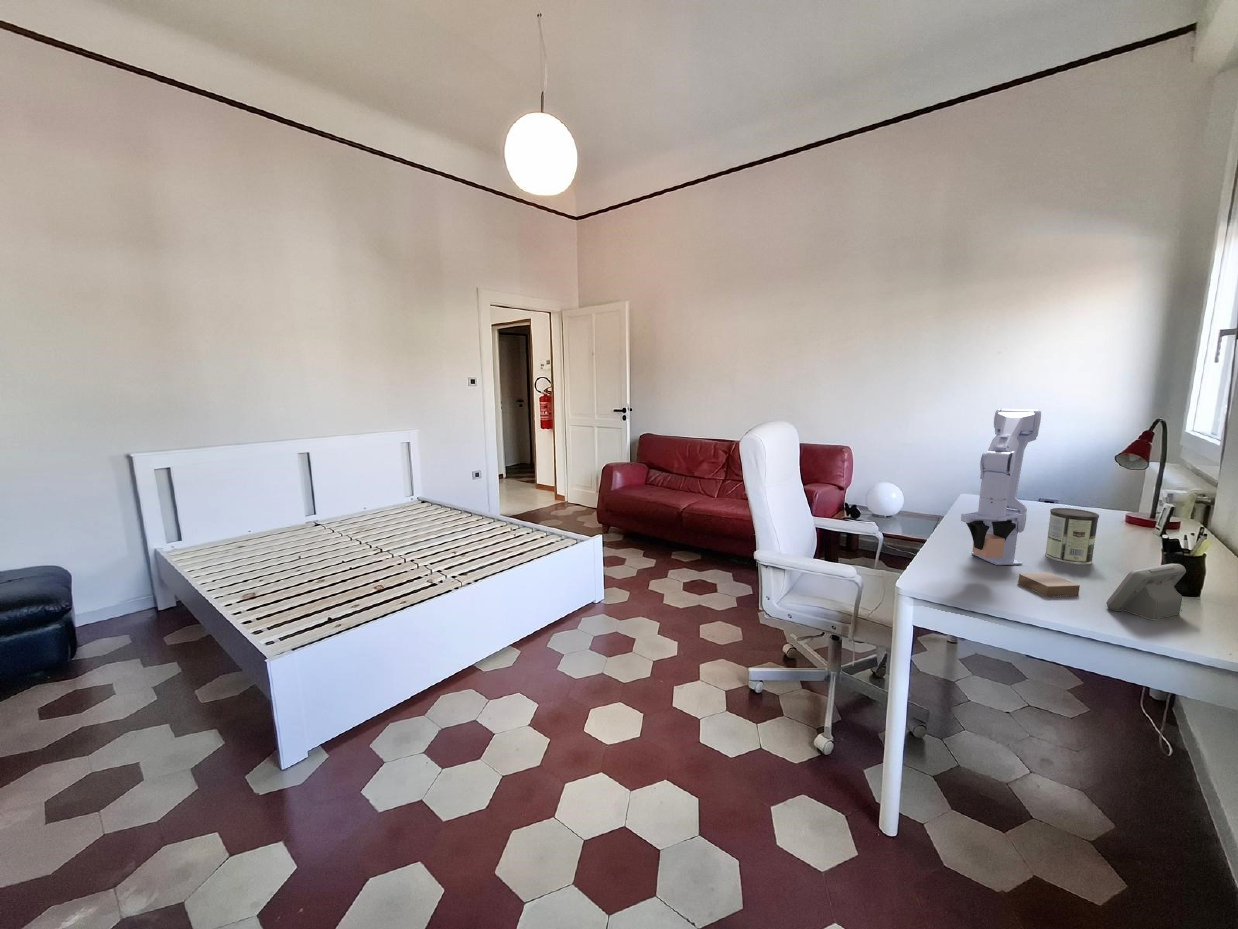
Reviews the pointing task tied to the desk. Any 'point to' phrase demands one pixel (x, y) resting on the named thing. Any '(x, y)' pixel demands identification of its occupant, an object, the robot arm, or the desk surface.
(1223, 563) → the desk surface
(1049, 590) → the walnut slab
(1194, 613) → the desk surface
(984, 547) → the terracotta block
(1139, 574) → the digital clock
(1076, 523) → the coffee can
